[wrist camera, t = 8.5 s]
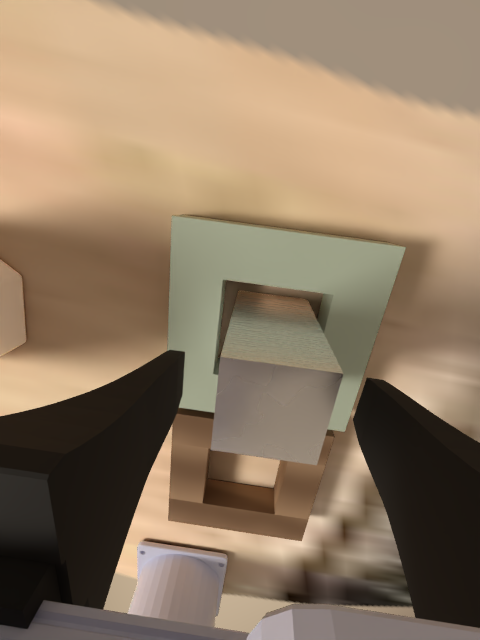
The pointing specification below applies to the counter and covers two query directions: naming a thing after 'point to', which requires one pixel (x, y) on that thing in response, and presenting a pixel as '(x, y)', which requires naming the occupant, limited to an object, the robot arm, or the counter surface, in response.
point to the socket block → (237, 486)
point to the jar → (11, 309)
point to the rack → (278, 271)
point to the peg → (274, 381)
